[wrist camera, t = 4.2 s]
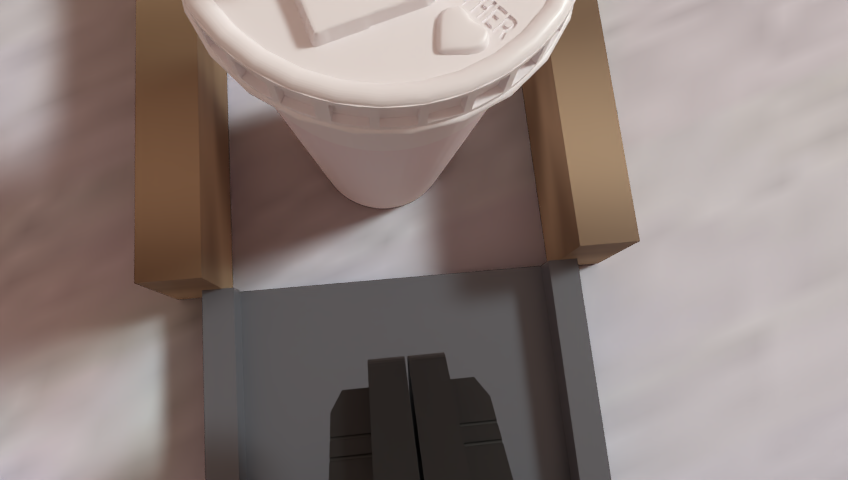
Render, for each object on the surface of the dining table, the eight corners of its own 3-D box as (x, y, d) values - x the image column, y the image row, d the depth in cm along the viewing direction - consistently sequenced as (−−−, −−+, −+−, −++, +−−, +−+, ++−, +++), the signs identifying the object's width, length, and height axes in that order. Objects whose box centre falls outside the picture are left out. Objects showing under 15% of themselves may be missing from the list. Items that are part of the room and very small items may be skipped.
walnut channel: (598, 263, 18) (639, 240, 15) (178, 299, 17) (134, 283, 14) (541, -87, 20) (567, -166, 17) (174, -74, 19) (136, -154, 16)
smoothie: (237, 204, 17) (-291, -410, 4) (326, 22, 19) (176, -893, 5) (444, 286, 17) (664, -44, 4) (517, 97, 19) (872, -647, 5)
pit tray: (602, 522, 16) (619, 534, 15) (221, 569, 15) (207, 585, 14) (564, 266, 18) (577, 257, 16) (214, 296, 17) (201, 290, 16)
